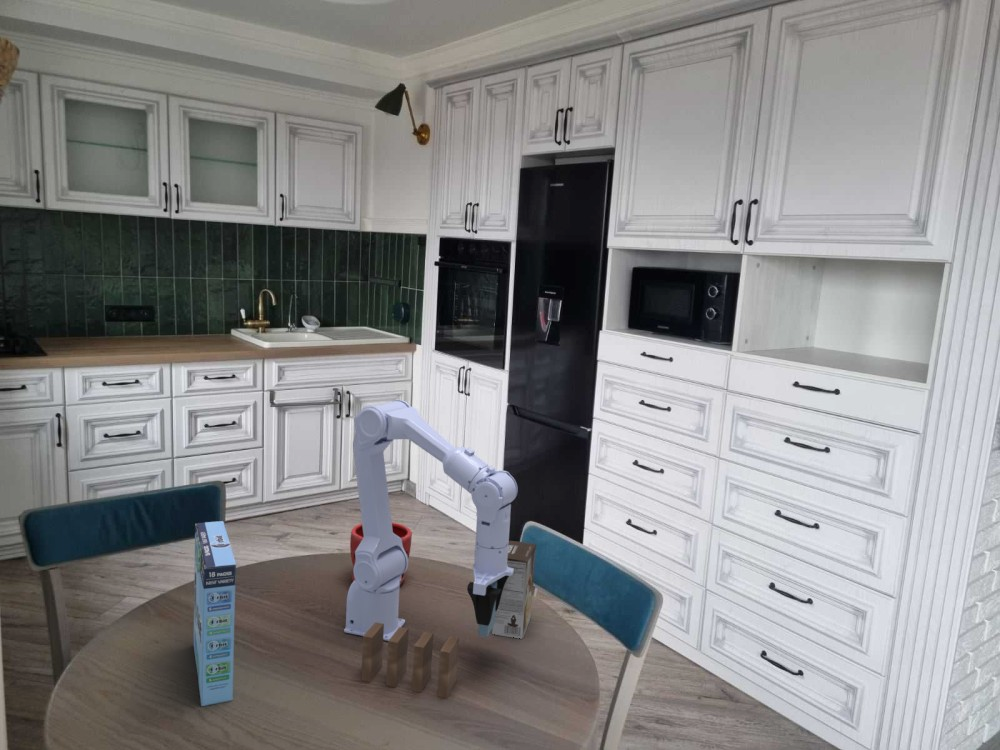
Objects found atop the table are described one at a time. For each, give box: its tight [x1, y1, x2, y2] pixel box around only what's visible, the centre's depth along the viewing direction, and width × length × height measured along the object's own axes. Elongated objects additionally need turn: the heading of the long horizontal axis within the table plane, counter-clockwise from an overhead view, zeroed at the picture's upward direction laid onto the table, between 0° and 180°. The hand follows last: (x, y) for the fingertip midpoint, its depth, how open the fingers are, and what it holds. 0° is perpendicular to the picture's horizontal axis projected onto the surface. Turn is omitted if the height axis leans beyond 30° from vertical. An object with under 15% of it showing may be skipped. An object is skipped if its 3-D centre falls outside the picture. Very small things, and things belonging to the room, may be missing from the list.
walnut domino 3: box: [411, 631, 434, 694], centre depth 120 cm, size 2×5×8 cm, turn 166°
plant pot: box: [349, 522, 413, 585], centre depth 157 cm, size 13×13×12 cm
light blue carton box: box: [193, 520, 237, 708], centre depth 119 cm, size 20×5×23 cm, turn 26°
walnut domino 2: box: [385, 626, 409, 688], centre depth 121 cm, size 2×5×8 cm, turn 166°
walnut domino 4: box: [437, 635, 459, 699], centre depth 119 cm, size 2×5×8 cm, turn 166°
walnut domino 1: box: [360, 622, 384, 683], centre depth 122 cm, size 2×5×8 cm, turn 166°
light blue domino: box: [478, 581, 497, 638], centre depth 125 cm, size 2×5×8 cm, turn 166°
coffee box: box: [491, 540, 537, 640], centre depth 141 cm, size 9×6×16 cm
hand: (487, 616), depth 126 cm, fingers closed on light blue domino, 5 cm apart
